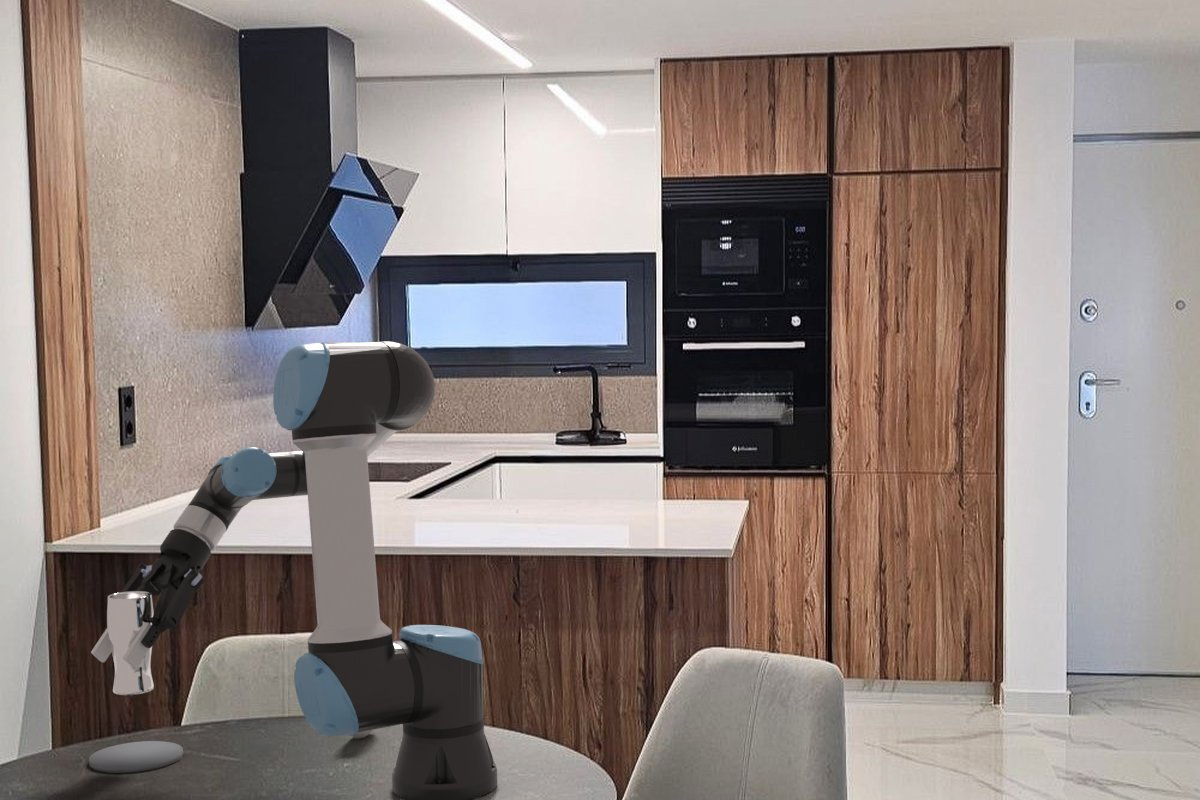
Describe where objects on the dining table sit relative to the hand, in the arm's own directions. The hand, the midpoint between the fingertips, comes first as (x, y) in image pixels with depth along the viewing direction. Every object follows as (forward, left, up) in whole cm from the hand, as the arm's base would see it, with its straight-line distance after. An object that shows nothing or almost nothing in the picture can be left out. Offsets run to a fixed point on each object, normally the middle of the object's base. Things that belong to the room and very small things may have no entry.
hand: (113, 660), depth 225 cm
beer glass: (+1, -3, -6) cm, 7 cm away
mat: (0, -3, -16) cm, 17 cm away
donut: (-18, -33, -16) cm, 41 cm away
